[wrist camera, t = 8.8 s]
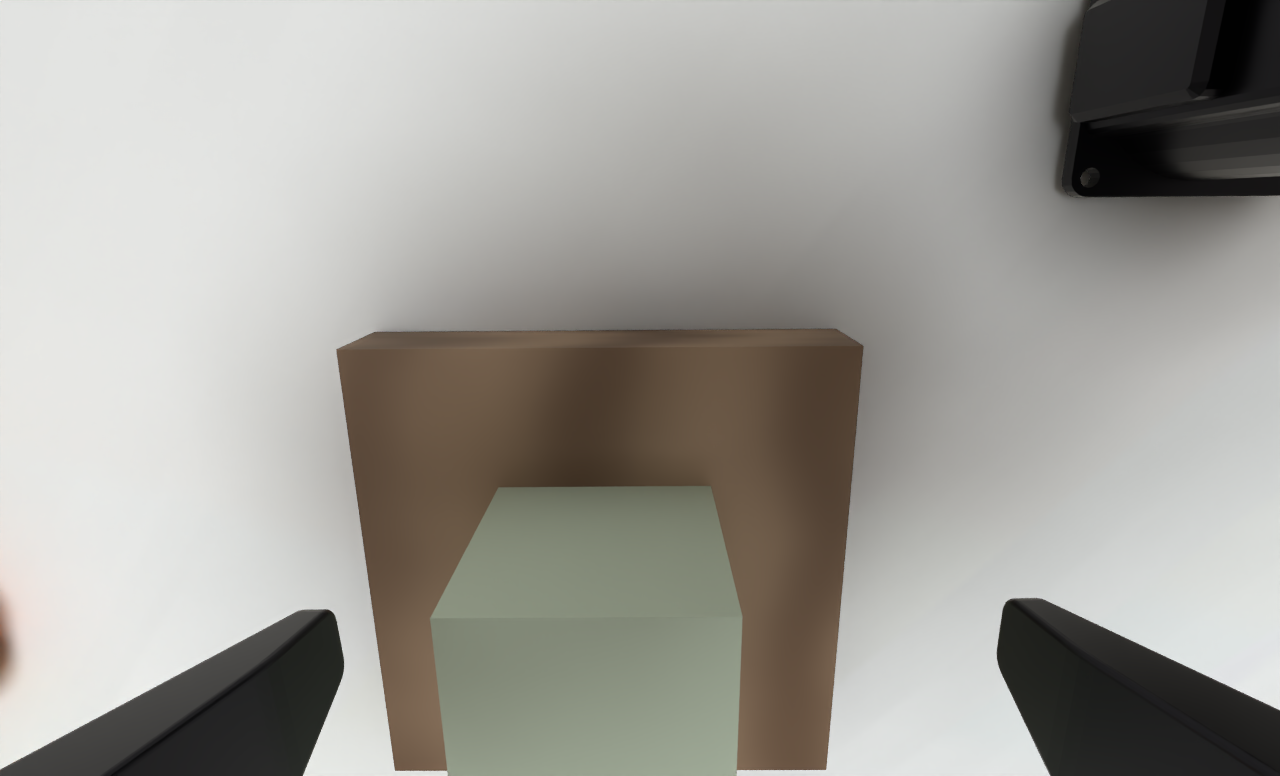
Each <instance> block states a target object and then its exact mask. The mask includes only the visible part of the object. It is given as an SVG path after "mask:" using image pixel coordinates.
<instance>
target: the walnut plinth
mask: <svg viewBox="0 0 1280 776" xmlns="http://www.w3.org/2000/svg"><path fill="white" fill-rule="evenodd" d="M336 350H337V357H338V365H339V372H340V379H341V386H342V393H343V401H344V408H345V415H346V422H347V429H348V436H349V444H350V451H351V458H352V465H353V472H354V479H355V487H356V494H357V501H358V508H359V515H360V522H361V530H362V537H363V544H364V551H365V558H366V565H367V573H368V580H369V587H370V594H371V601H372V608H373V616H374V623H375V630H376V637H377V644H378V651H379V659H380V666H381V673H382V680H383V687H384V694H385V702H386V709H387V716H388V723H389V730H390V737H391V745H392V752H393V759H394V766H395V771H447V763H446V754H445V745H444V736H443V728H442V719H441V710H440V701H439V693H438V684H437V675H436V666H435V658H434V649H433V640H432V631H431V623H430V617H431V616H432V614H433V612H434V610H435V608H436V606H437V604H438V602H439V600H440V598H441V596H442V594H443V593H444V591H445V589H446V587H447V585H448V583H449V581H450V579H451V577H452V575H453V573H454V572H455V570H456V568H457V566H458V564H459V562H460V560H461V558H462V556H463V554H464V552H465V550H466V549H467V547H468V545H469V543H470V541H471V539H472V537H473V535H474V533H475V531H476V529H477V528H478V526H479V524H480V522H481V520H482V518H483V516H484V514H485V512H486V510H487V508H488V506H489V505H490V503H491V501H492V499H493V497H494V495H495V493H496V491H497V489H498V487H625V486H711V489H712V493H713V497H714V501H715V505H716V509H717V514H718V518H719V522H720V526H721V530H722V534H723V538H724V542H725V547H726V551H727V555H728V559H729V563H730V567H731V571H732V575H733V579H734V584H735V588H736V592H737V596H738V600H739V604H740V608H741V612H742V617H743V618H742V644H741V670H740V696H739V722H738V748H737V770H826V765H827V754H828V743H829V731H830V720H831V709H832V697H833V686H834V674H835V663H836V652H837V640H838V629H839V618H840V606H841V595H842V583H843V572H844V561H845V549H846V538H847V527H848V515H849V504H850V492H851V481H852V470H853V458H854V447H855V436H856V424H857V413H858V401H859V390H860V379H861V367H862V356H863V345H861V344H860V343H858V342H856V341H855V340H853V339H851V338H850V337H848V336H847V335H845V334H843V333H842V332H840V331H839V330H837V329H745V330H605V331H464V332H374V333H372V334H369V335H367V336H365V337H363V338H361V339H358V340H356V341H354V342H352V343H350V344H347V345H345V346H343V347H341V348H339V349H336Z"/></svg>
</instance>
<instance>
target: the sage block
mask: <svg viewBox="0 0 1280 776" xmlns="http://www.w3.org/2000/svg"><path fill="white" fill-rule="evenodd" d="M742 618H743V617H742V612H741V608H740V604H739V600H738V596H737V592H736V588H735V584H734V579H733V575H732V571H731V567H730V563H729V559H728V555H727V551H726V547H725V542H724V538H723V534H722V530H721V526H720V522H719V518H718V514H717V509H716V505H715V501H714V497H713V493H712V489H711V486H625V487H498V489H497V491H496V493H495V495H494V497H493V499H492V501H491V503H490V505H489V506H488V508H487V510H486V512H485V514H484V516H483V518H482V520H481V522H480V524H479V526H478V528H477V529H476V531H475V533H474V535H473V537H472V539H471V541H470V543H469V545H468V547H467V549H466V550H465V552H464V554H463V556H462V558H461V560H460V562H459V564H458V566H457V568H456V570H455V572H454V573H453V575H452V577H451V579H450V581H449V583H448V585H447V587H446V589H445V591H444V593H443V594H442V596H441V598H440V600H439V602H438V604H437V606H436V608H435V610H434V612H433V614H432V616H431V617H430V623H431V631H432V640H433V649H434V658H435V666H436V675H437V684H438V693H439V701H440V710H441V719H442V728H443V736H444V745H445V754H446V763H447V772H448V776H736V774H737V748H738V722H739V696H740V670H741V644H742Z"/></svg>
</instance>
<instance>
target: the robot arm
mask: <svg viewBox="0 0 1280 776" xmlns="http://www.w3.org/2000/svg"><path fill="white" fill-rule="evenodd" d="M1069 113H1070V115H1071V117H1072V120H1071V127H1070V133H1069V139H1068V145H1067V151H1066V157H1065V164H1064V170H1063V176H1062V186H1063V188H1064V190H1065V192H1066V193H1067V194H1069V195H1070V196H1073V197H1174V196H1280V0H1091V3H1090V8H1089V9H1088V10H1087V11H1086V13H1085V16H1084V22H1083V28H1082V34H1081V41H1080V47H1079V53H1078V59H1077V66H1076V72H1075V78H1074V84H1073V91H1072V97H1071V103H1070V109H1069ZM1085 170H1087V171H1088V172H1089V175H1090V179H1089V181H1088V183H1087V184H1086V185H1085V186H1083V185H1082V184H1081V179H1080V178H1081V175H1082V173H1083V172H1084V171H1085ZM997 660H998V665H999V668H1000V671H1001V673H1002V676H1003V678H1004V680H1005V682H1006V684H1007V686H1008V688H1009V690H1010V692H1011V695H1012V697H1013V699H1014V701H1015V703H1016V705H1017V707H1018V709H1019V711H1020V713H1021V716H1022V718H1023V720H1024V722H1025V724H1026V726H1027V728H1028V730H1029V732H1030V735H1031V737H1032V739H1033V741H1034V743H1035V745H1036V747H1037V749H1038V751H1039V754H1040V756H1041V758H1042V760H1043V762H1044V764H1045V766H1046V768H1047V770H1048V772H1049V774H1050V776H1280V710H1278V709H1276V708H1274V707H1272V706H1269V705H1267V704H1265V703H1263V702H1261V701H1259V700H1257V699H1255V698H1252V697H1250V696H1248V695H1246V694H1244V693H1242V692H1240V691H1237V690H1235V689H1233V688H1231V687H1229V686H1227V685H1225V684H1223V683H1220V682H1218V681H1216V680H1214V679H1212V678H1210V677H1208V676H1206V675H1203V674H1201V673H1199V672H1197V671H1195V670H1193V669H1191V668H1188V667H1186V666H1184V665H1182V664H1180V663H1178V662H1176V661H1174V660H1171V659H1169V658H1167V657H1165V656H1163V655H1161V654H1159V653H1157V652H1154V651H1152V650H1150V649H1148V648H1146V647H1144V646H1142V645H1139V644H1137V643H1135V642H1133V641H1131V640H1129V639H1127V638H1125V637H1122V636H1120V635H1118V634H1116V633H1114V632H1112V631H1110V630H1108V629H1105V628H1103V627H1101V626H1099V625H1097V624H1095V623H1093V622H1090V621H1088V620H1086V619H1084V618H1082V617H1080V616H1078V615H1076V614H1073V613H1071V612H1069V611H1067V610H1065V609H1063V608H1061V607H1059V606H1056V605H1054V604H1052V603H1050V602H1048V601H1046V600H1043V599H1039V598H1016V599H1010V600H1008V601H1007V602H1006V603H1005V605H1004V607H1003V612H1002V619H1001V625H1000V632H999V639H998V646H997ZM343 671H344V657H343V652H342V647H341V642H340V636H339V631H338V626H337V621H336V618H335V615H334V614H333V612H331V611H330V610H327V609H325V610H300V611H297V612H295V613H293V614H292V615H290V616H288V617H286V618H284V619H282V620H280V621H278V622H277V623H275V624H273V625H271V626H269V627H267V628H265V629H263V630H262V631H260V632H258V633H256V634H254V635H252V636H250V637H248V638H247V639H245V640H243V641H241V642H239V643H237V644H235V645H233V646H232V647H230V648H228V649H226V650H224V651H222V652H220V653H218V654H217V655H215V656H213V657H211V658H209V659H207V660H205V661H203V662H201V663H200V664H198V665H196V666H194V667H192V668H190V669H188V670H186V671H185V672H183V673H181V674H179V675H177V676H175V677H173V678H171V679H170V680H168V681H166V682H164V683H162V684H160V685H158V686H156V687H155V688H153V689H151V690H149V691H147V692H145V693H143V694H141V695H140V696H138V697H136V698H134V699H132V700H130V701H128V702H126V703H125V704H123V705H121V706H119V707H117V708H115V709H113V710H111V711H109V712H108V713H106V714H104V715H102V716H100V717H98V718H96V719H94V720H93V721H91V722H89V723H87V724H85V725H83V726H81V727H79V728H78V729H76V730H74V731H72V732H70V733H68V734H66V735H64V736H63V737H61V738H59V739H57V740H55V741H53V742H51V743H49V744H48V745H46V746H44V747H42V748H40V749H38V750H36V751H34V752H33V753H31V754H29V755H27V756H25V757H23V758H21V759H19V760H17V761H16V762H14V763H12V764H10V765H8V766H6V767H4V768H2V769H1V770H0V776H303V774H304V772H305V769H306V767H307V764H308V762H309V759H310V757H311V754H312V752H313V749H314V747H315V744H316V742H317V739H318V737H319V734H320V732H321V729H322V727H323V724H324V722H325V719H326V717H327V715H328V712H329V710H330V707H331V705H332V702H333V700H334V697H335V695H336V692H337V690H338V687H339V685H340V682H341V679H342V676H343Z"/></svg>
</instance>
